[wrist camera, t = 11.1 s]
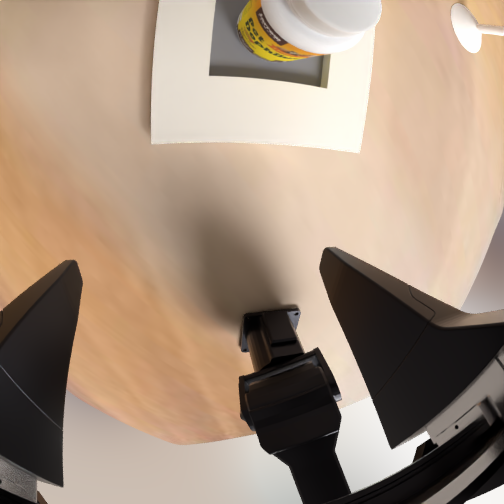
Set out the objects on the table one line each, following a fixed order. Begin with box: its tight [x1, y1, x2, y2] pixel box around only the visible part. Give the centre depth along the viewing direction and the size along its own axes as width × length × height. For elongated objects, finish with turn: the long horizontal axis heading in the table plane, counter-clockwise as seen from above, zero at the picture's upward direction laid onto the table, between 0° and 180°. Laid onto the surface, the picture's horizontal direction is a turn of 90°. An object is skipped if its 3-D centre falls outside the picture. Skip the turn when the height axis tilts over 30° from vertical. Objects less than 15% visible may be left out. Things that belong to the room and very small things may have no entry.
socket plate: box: [151, 0, 375, 153], centre depth 14 cm, size 18×16×2 cm
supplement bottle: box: [237, 0, 382, 62], centre depth 11 cm, size 6×6×10 cm
